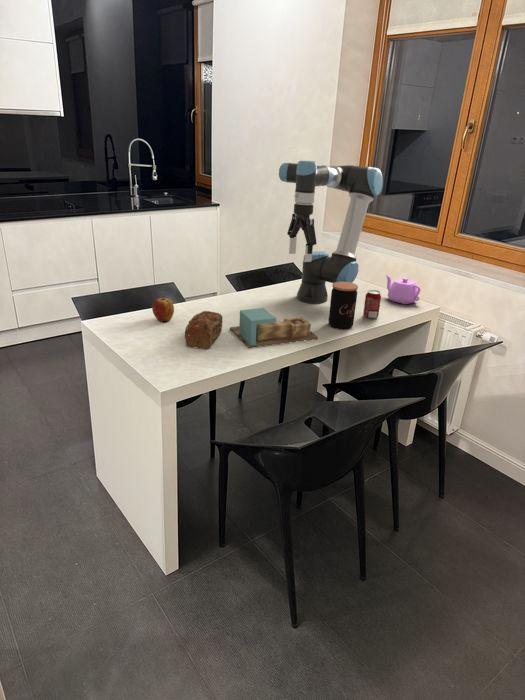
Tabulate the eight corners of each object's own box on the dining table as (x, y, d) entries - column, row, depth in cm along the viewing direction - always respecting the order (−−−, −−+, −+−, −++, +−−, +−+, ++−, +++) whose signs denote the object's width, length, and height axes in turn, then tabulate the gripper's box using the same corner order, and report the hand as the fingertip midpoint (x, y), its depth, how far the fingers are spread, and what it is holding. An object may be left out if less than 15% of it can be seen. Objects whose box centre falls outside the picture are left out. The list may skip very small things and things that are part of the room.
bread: (210, 350, 183) (211, 325, 179) (183, 347, 185) (182, 322, 181) (223, 332, 200) (223, 309, 196) (198, 329, 202) (197, 306, 197)
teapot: (424, 302, 247) (428, 279, 242) (411, 308, 238) (416, 284, 233) (388, 293, 259) (391, 271, 254) (375, 298, 250) (378, 275, 245)
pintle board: (229, 329, 203) (230, 316, 200) (294, 321, 214) (295, 309, 212) (248, 348, 186) (248, 335, 184) (317, 338, 198) (318, 326, 195)
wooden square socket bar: (259, 342, 190) (260, 330, 187) (251, 334, 196) (252, 322, 194) (309, 335, 198) (310, 323, 196) (300, 328, 205) (301, 317, 203)
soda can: (378, 320, 220) (381, 294, 215) (362, 318, 221) (366, 293, 217) (377, 315, 226) (381, 290, 221) (362, 313, 228) (366, 288, 223)
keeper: (239, 336, 196) (239, 310, 192) (262, 333, 200) (263, 307, 196) (250, 348, 186) (251, 320, 182) (274, 344, 190) (276, 318, 186)
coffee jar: (337, 331, 206) (342, 290, 198) (323, 323, 214) (327, 282, 207) (358, 328, 211) (363, 287, 203) (343, 319, 219) (347, 280, 212)
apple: (148, 320, 208) (147, 297, 204) (165, 315, 215) (165, 293, 210) (161, 326, 203) (160, 302, 199) (179, 321, 209) (178, 298, 205)
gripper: (281, 199, 201) (278, 251, 209) (311, 208, 180) (306, 265, 189) (297, 198, 203) (294, 250, 212) (328, 208, 183) (323, 264, 191)
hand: (299, 257), depth 200 cm, fingers open, 13 cm apart
